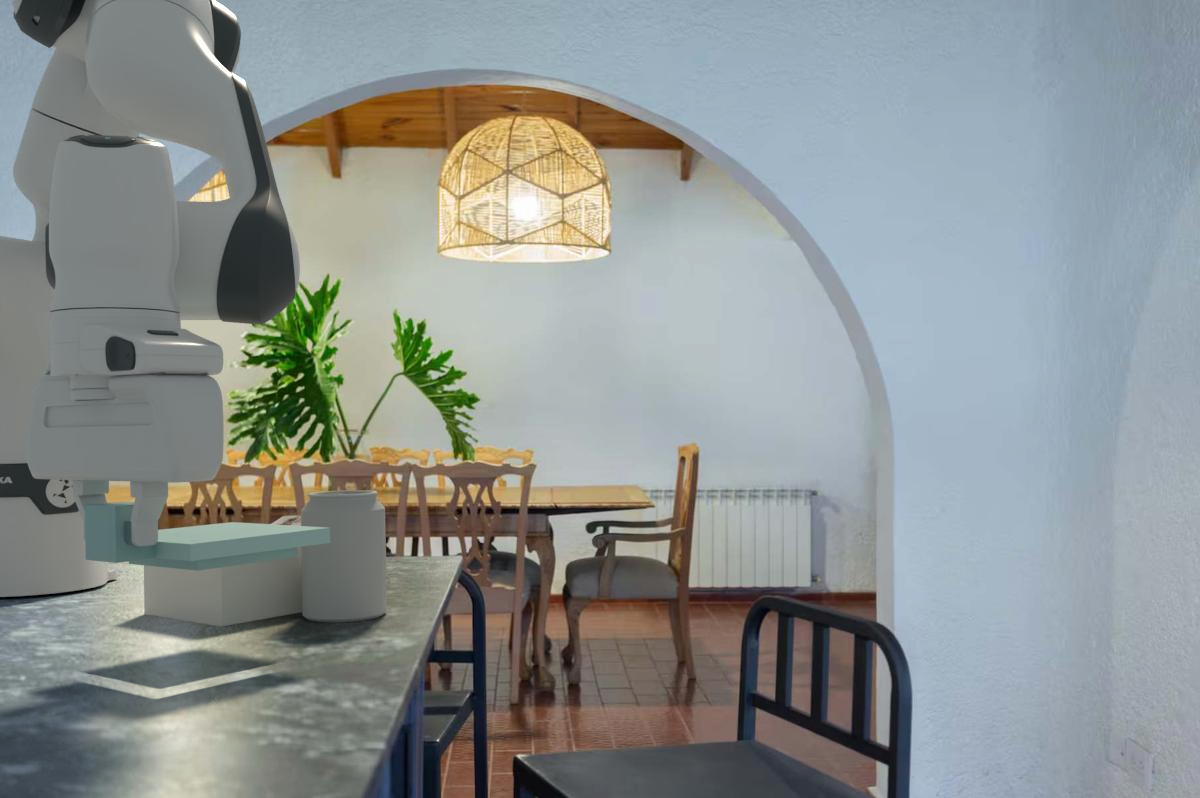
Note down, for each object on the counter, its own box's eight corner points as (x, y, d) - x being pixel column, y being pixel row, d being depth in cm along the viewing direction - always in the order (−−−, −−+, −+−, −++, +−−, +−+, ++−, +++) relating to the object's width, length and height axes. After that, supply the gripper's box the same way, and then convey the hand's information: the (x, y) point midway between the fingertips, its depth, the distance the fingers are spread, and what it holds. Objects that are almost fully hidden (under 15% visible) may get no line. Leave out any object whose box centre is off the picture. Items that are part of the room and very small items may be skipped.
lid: (55, 570, 87) (53, 503, 87) (233, 547, 100) (231, 489, 100) (151, 581, 80) (149, 507, 80) (330, 555, 92) (329, 492, 92)
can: (402, 617, 108) (400, 488, 108) (353, 632, 101) (351, 493, 101) (337, 613, 111) (335, 487, 111) (284, 626, 104) (283, 492, 104)
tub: (144, 620, 109) (143, 545, 109) (252, 602, 118) (251, 533, 118) (221, 633, 102) (220, 552, 102) (330, 612, 111) (329, 539, 111)
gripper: (3, 359, 89) (5, 541, 88) (157, 344, 76) (160, 555, 76) (82, 361, 94) (84, 533, 94) (238, 347, 82) (242, 545, 81)
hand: (120, 543), depth 85 cm, fingers closed on lid, 4 cm apart
